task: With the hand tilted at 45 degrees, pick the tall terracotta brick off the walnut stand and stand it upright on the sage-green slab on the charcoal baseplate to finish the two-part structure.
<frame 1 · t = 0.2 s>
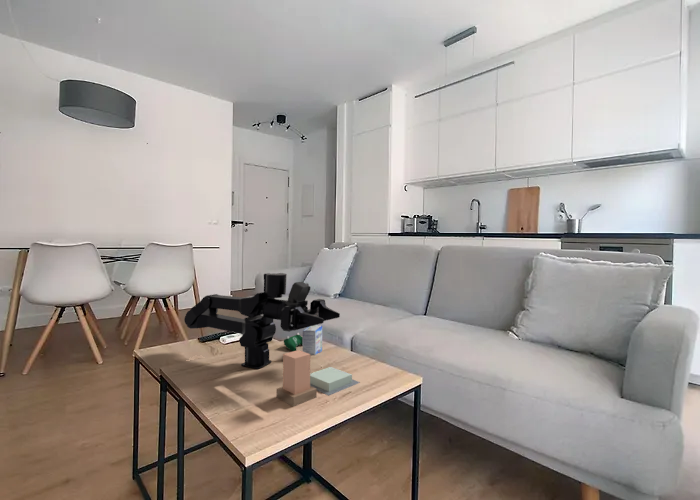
hand: (331, 318, 95), 16 cm above the table, tool horizontal, fingers open, 9 cm apart
foundation slab: (329, 382, 91), resting on baseplate
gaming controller: (296, 348, 124), on the table
baseplate: (329, 386, 91), on the table
terracotta brick: (296, 388, 82), point 3 cm above the table, touching walnut stand
walnut stand: (296, 401, 82), on the table
medicine box: (312, 354, 117), on the table
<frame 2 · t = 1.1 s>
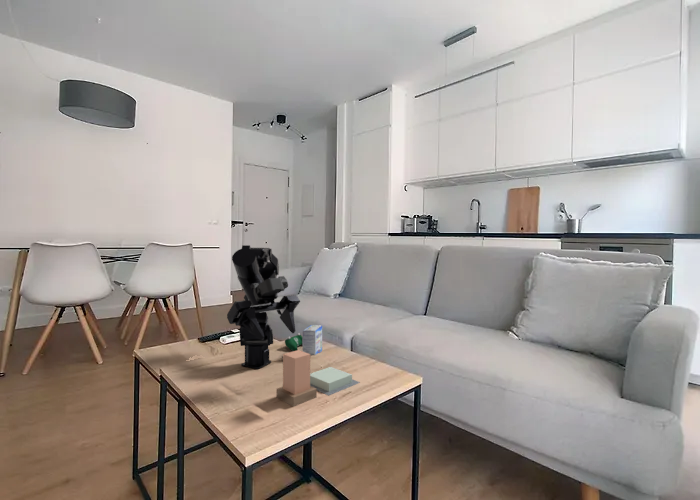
hand: (279, 335, 87), 14 cm above the table, tool tilted 45°, fingers open, 9 cm apart
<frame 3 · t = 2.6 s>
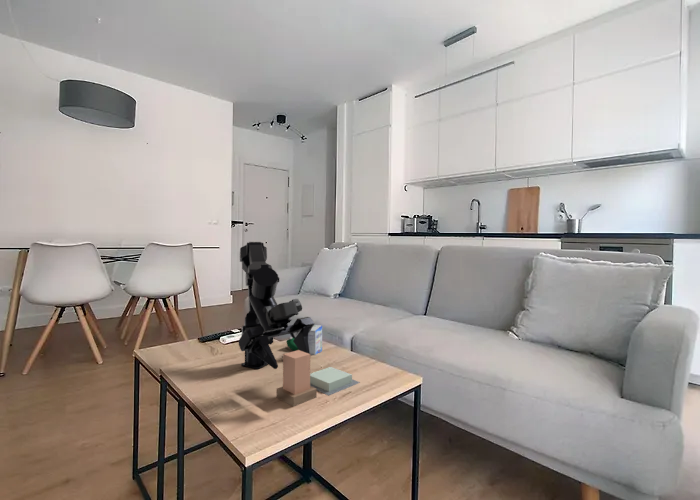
hand: (293, 363, 83), 9 cm above the table, tool tilted 45°, fingers open, 9 cm apart
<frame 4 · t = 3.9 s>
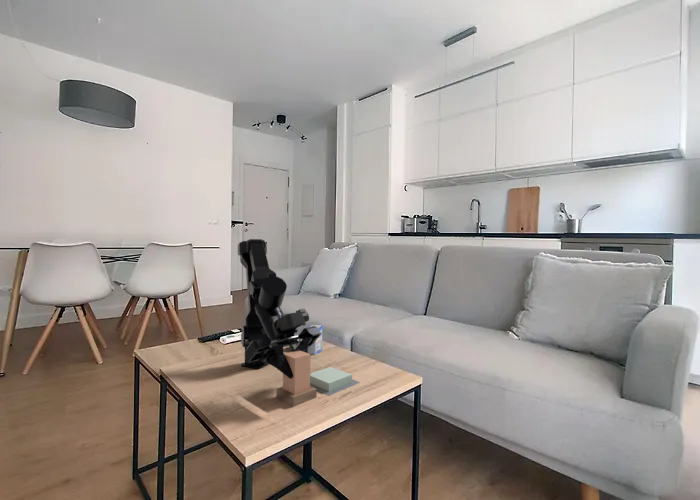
hand: (300, 374, 81), 7 cm above the table, tool tilted 45°, fingers closed on terracotta brick, 4 cm apart
terracotta brick: (296, 388, 82), point 3 cm above the table, touching gripper, walnut stand
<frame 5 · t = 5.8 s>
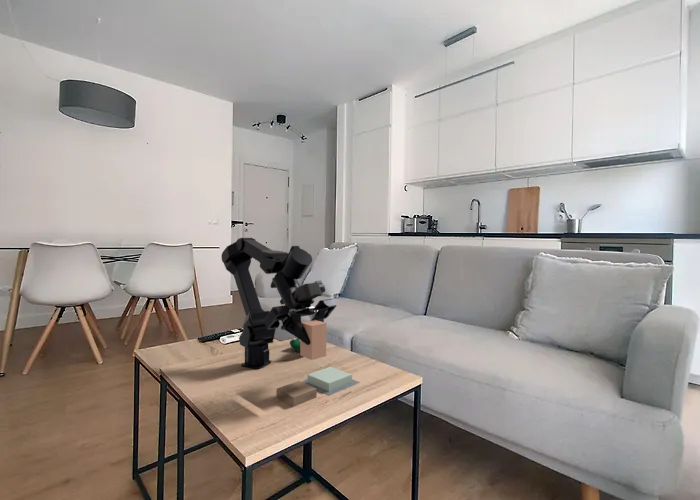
hand: (317, 342, 85), 13 cm above the table, tool tilted 45°, fingers closed on terracotta brick, 4 cm apart
terracotta brick: (313, 355, 86), point 9 cm above the table, touching gripper
when the fingers open (8 cm above the table, at t = 7.9 s): terracotta brick drops 1 cm, resting on foundation slab.
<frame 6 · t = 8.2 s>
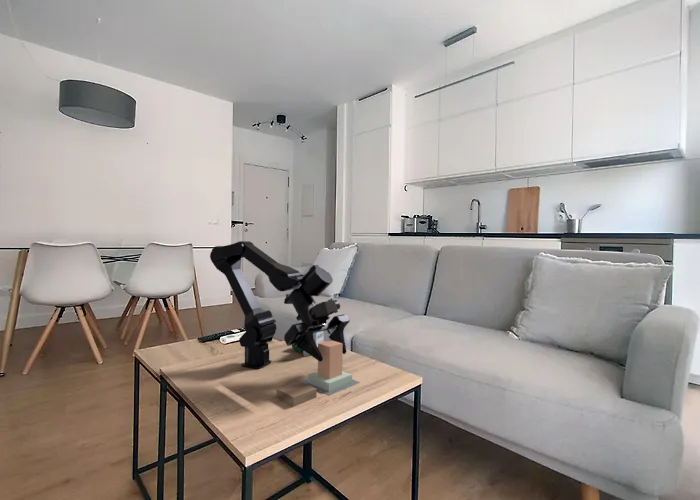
hand: (333, 356, 90), 8 cm above the table, tool tilted 45°, fingers open, 8 cm apart
terracotta brick: (330, 374, 91), point 3 cm above the table, touching foundation slab
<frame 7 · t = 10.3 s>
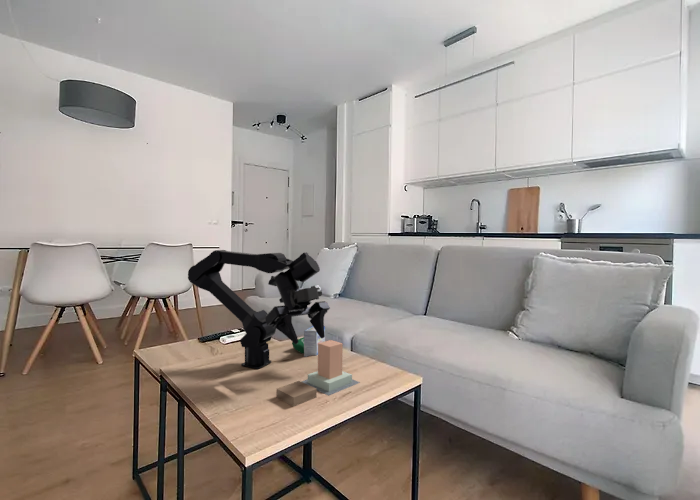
hand: (310, 340, 95), 10 cm above the table, tool tilted 40°, fingers open, 9 cm apart
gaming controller: (304, 350, 122), on the table, touching medicine box
medicine box: (314, 354, 117), on the table, touching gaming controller
everything else where it was.
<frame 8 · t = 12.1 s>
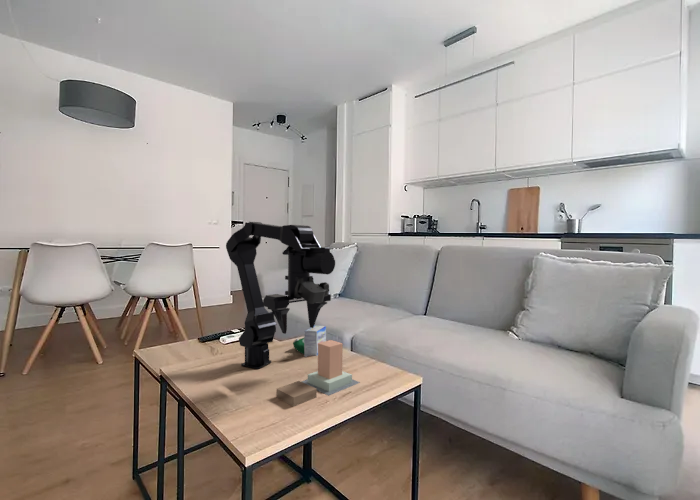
hand: (298, 330, 96), 13 cm above the table, tool pointing down, fingers open, 9 cm apart
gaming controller: (305, 350, 122), on the table
medicine box: (315, 355, 116), on the table
everything else where it was.
at the end: terracotta brick 0.0 cm off-centre on the foundation slab, point 2.0 cm above the foundation slab's base; terracotta brick tilted 0°; the gripper is holding nothing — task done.
